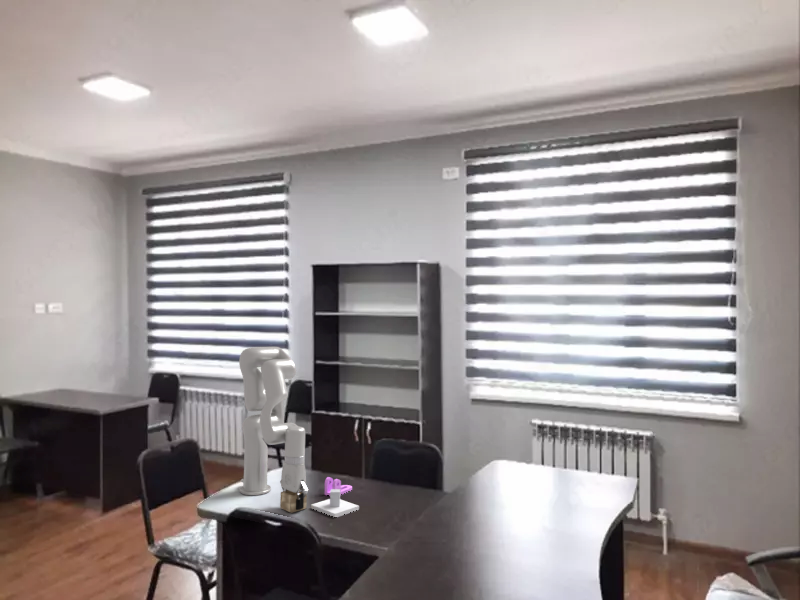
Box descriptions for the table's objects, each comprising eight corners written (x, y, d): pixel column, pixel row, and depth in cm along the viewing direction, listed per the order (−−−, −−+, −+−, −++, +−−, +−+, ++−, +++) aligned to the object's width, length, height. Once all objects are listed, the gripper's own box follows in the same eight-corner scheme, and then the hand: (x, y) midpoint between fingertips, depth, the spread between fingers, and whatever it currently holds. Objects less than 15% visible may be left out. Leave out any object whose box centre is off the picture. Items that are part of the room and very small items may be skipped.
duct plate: (310, 508, 216) (311, 490, 216) (334, 501, 225) (335, 483, 225) (335, 517, 207) (335, 498, 207) (359, 509, 216) (359, 491, 216)
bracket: (334, 497, 229) (335, 480, 230) (324, 495, 232) (324, 478, 233) (354, 489, 240) (355, 473, 240) (344, 487, 243) (344, 471, 243)
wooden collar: (280, 508, 215) (280, 492, 215) (295, 503, 220) (295, 488, 220) (291, 512, 210) (291, 496, 211) (306, 508, 216) (306, 492, 216)
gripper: (273, 456, 219) (271, 503, 219) (300, 466, 207) (299, 515, 207) (288, 453, 224) (287, 498, 224) (316, 462, 213) (315, 509, 212)
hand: (293, 506), depth 215 cm, fingers closed on wooden collar, 7 cm apart
